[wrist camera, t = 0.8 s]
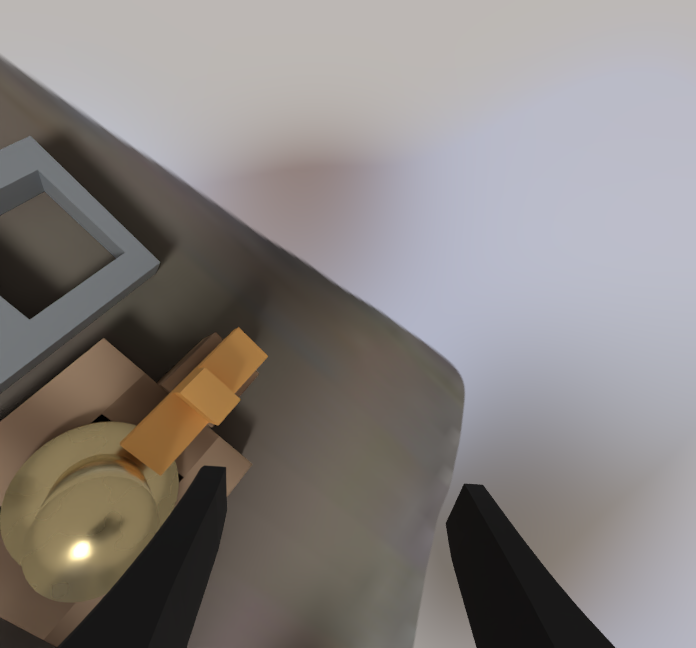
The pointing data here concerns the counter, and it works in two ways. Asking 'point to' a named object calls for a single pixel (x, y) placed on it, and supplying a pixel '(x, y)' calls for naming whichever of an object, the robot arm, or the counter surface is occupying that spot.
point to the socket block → (80, 409)
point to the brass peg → (84, 511)
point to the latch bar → (195, 402)
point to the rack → (87, 298)
